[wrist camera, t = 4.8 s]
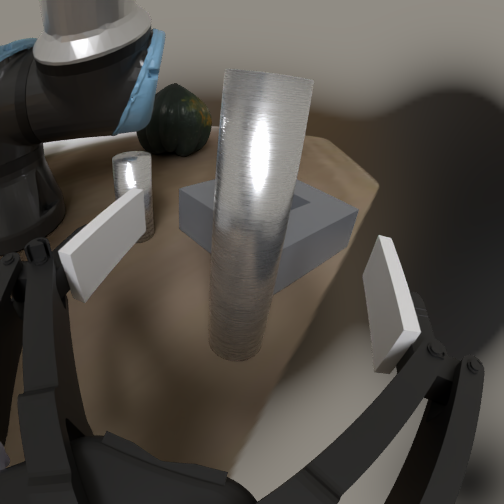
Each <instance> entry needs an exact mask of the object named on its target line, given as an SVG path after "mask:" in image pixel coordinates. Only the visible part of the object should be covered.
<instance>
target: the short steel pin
mask: <svg viewBox="0 0 504 504" xmlns="http://www.w3.org/2000/svg"><path fill="white" fill-rule="evenodd" d="M112 163H113V177H114V188H115V198H116V200H118V199H119V198H120V197H121V196H123V195H124V194H125V193H126V192H128V191H129V190H130V189H132V188H136V189H142V190H143V193H144V209H145V223H146V231H145V233H144V234H143V235H142V236H141V237H140V238H139V239H138V240H137V241H136V243H142V242H145V241H147V240H149V239H151V238H152V237H153V235H154V219H153V201H152V174H151V154H150V153H148V152H144V151H130V152H124V153H120V154H118V155H116V156H114V157H113V158H112Z"/></svg>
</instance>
